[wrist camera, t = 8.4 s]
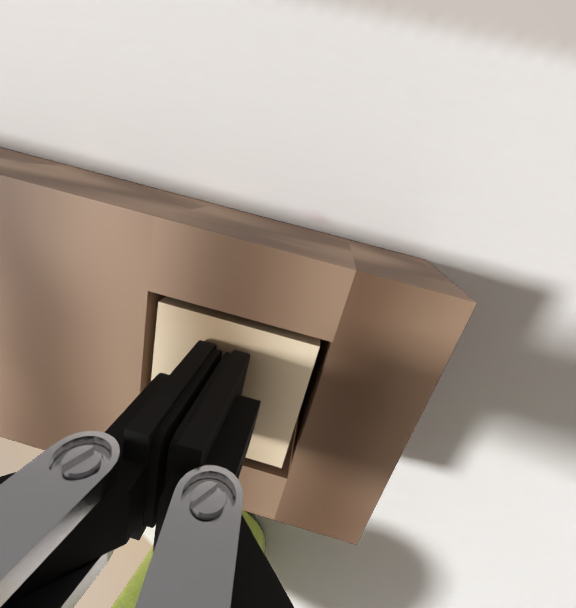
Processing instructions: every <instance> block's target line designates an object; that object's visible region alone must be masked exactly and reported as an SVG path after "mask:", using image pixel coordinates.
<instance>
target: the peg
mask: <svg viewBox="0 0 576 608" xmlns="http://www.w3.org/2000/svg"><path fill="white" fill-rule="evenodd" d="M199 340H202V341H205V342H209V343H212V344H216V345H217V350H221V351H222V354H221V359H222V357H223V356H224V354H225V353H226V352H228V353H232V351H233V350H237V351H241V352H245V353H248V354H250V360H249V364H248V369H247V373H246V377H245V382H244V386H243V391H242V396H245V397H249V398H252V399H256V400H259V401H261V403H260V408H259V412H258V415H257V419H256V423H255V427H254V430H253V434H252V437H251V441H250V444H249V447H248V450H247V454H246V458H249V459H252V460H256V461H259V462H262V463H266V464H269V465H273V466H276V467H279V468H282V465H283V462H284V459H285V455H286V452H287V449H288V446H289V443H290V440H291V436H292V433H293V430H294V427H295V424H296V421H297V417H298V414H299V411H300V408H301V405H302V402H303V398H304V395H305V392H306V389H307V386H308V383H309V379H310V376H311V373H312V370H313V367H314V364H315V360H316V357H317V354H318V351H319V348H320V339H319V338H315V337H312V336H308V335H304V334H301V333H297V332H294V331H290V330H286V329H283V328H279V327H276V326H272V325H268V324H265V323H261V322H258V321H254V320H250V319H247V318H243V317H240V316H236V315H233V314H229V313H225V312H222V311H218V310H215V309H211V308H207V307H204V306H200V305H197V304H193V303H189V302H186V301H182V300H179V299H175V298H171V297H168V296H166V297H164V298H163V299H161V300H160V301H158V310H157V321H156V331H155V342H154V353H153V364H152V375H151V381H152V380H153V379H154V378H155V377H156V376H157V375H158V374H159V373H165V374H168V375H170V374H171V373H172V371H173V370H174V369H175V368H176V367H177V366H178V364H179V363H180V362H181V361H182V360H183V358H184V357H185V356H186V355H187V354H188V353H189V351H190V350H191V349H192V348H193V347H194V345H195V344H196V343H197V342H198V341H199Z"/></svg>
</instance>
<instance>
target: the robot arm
mask: <svg viewBox="0 0 576 608" xmlns="http://www.w3.org/2000/svg"><path fill="white" fill-rule="evenodd" d="M221 354H222V351H221V350H217V345H216V344H212V343H209V342H205V341H202V340H199V341H198V342H197V343H196V344H195V345H194V347H193V348H192V349H191V350H190V351H189V353H188V354H187V355H186V356H185V357H184V358H183V360H182V361H181V362H180V363H179V364H178V366H177V367H176V368H175V369H174V370H173V371H172V373H171V374H170V375H168V374H165V373H159V374H158V375H157V376H156V377H155V378H154V379H153V380H152V381H151V382H150V383H149V384H148V385H147V386H146V388H145V389H144V390H143V391H142V392H141V393H140V394H139V395H138V396H137V397H136V398H135V400H134V401H133V402H132V403H131V404H130V405H129V406H128V407H127V408H126V409H125V411H124V412H123V413H122V414H121V415H120V416H119V417H118V418H117V419H116V420H115V421H114V423H113V424H112V425H111V426H110V427H109V428H108V429H107V430H106V431H105V432H100V431H84V432H79V433H75V434H72V435H70V436H67V437H65V438H63V439H61V440H60V441H58V442H56V443H55V444H53V445H52V446H51V447H49V448H48V449H47V450H45V451H44V452H43V453H42V454H40V455H39V456H37V457H36V458H35V459H33V460H32V461H31V462H29V463H28V464H27V465H25V466H24V467H23V468H22V469H20V470H19V471H18V472H15V473H12V474H8V475H5V476H1V477H0V608H73V607H74V606H75V605H76V603H77V602H78V601H79V600H80V598H81V597H82V596H83V594H84V593H85V592H86V590H87V589H88V588H89V586H90V585H91V584H92V582H93V581H94V579H95V578H96V577H97V576H98V574H99V573H100V571H101V570H102V569H103V568H104V566H105V565H106V564H107V562H108V560H109V559H110V557H111V555H112V554H113V550H114V549H116V548H118V547H120V546H122V545H125V544H126V543H127V542H128V540H129V538H133V539H136V540H140V538H141V536H142V534H143V532H144V531H145V529H146V527H147V526H148V527H151V528H153V527H154V526H155V525H156V529H155V538H154V546H153V555H152V558H151V561H150V564H149V567H148V570H147V573H146V576H145V579H144V582H143V585H142V588H141V591H140V594H139V597H138V600H137V603H136V606H135V608H294V606H293V605H292V603H291V601H290V599H289V597H288V596H287V594H286V592H285V590H284V589H283V587H282V585H281V583H280V581H279V580H278V578H277V576H276V574H275V572H274V571H273V569H272V567H271V565H270V564H269V562H268V560H267V558H266V556H265V555H264V553H263V551H262V549H261V547H260V546H259V544H258V542H257V540H256V538H255V537H254V535H253V533H252V531H251V530H250V528H249V526H248V524H247V522H246V521H245V519H244V517H243V515H242V506H243V489H242V486H241V484H240V481H239V480H238V479H239V475H240V472H241V469H242V466H243V463H244V460H245V457H246V454H247V450H248V447H249V444H250V441H251V437H252V434H253V430H254V427H255V423H256V419H257V415H258V412H259V408H260V403H261V401H259V400H256V399H252V398H249V397H245V396H242V391H243V386H244V382H245V377H246V373H247V369H248V364H249V360H250V354H248V353H245V352H241V351H237V350H233V351H232V353H228V352H226V353H225V354H224V356H223V357H222V359H221Z"/></svg>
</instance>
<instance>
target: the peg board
mask: <svg viewBox="0 0 576 608" xmlns="http://www.w3.org/2000/svg"><path fill="white" fill-rule="evenodd" d="M166 296H168V297H171V298H175V299H179V300H182V301H186V302H189V303H193V304H197V305H200V306H204V307H207V308H211V309H215V310H218V311H222V312H225V313H229V314H233V315H236V316H240V317H243V318H247V319H250V320H254V321H258V322H261V323H265V324H268V325H272V326H276V327H279V328H283V329H286V330H290V331H294V332H297V333H301V334H304V335H308V336H312V337H315V338H319V339H320V348H319V351H318V354H317V357H316V360H315V364H314V367H313V370H312V373H311V376H310V379H309V383H308V386H307V389H306V392H305V395H304V398H303V402H302V405H301V408H300V411H299V414H298V417H297V421H296V424H295V427H294V430H293V433H292V436H291V440H290V443H289V446H288V449H287V452H286V455H285V459H284V462H283V465H282V468H279V467H276V466H273V465H269V464H266V463H262V462H259V461H256V460H252V459H249V458H246V457H245V460H244V463H243V466H242V469H241V472H240V475H239V479H238V480H239V481H240V484H241V486H242V489H243V506H242V510H243V511H247V512H250V513H253V514H257V515H260V516H263V517H266V518H270V519H273V520H276V521H280V522H283V523H286V524H290V525H293V526H296V527H299V528H303V529H306V530H309V531H313V532H316V533H319V534H322V535H326V536H329V537H332V538H336V539H339V540H342V541H346V542H349V543H352V544H355V545H357V543H358V541H359V539H360V537H361V535H362V533H363V531H364V529H365V527H366V525H367V523H368V521H369V519H370V517H371V515H372V513H373V511H374V509H375V507H376V505H377V503H378V501H379V499H380V497H381V495H382V493H383V491H384V488H385V486H386V484H387V482H388V480H389V478H390V476H391V474H392V472H393V470H394V468H395V466H396V464H397V462H398V460H399V458H400V456H401V454H402V452H403V450H404V448H405V446H406V444H407V442H408V440H409V438H410V436H411V434H412V432H413V430H414V428H415V426H416V424H417V422H418V420H419V418H420V416H421V414H422V412H423V410H424V408H425V406H426V404H427V402H428V400H429V398H430V396H431V394H432V392H433V390H434V388H435V386H436V384H437V382H438V380H439V378H440V376H441V374H442V372H443V370H444V368H445V366H446V364H447V362H448V360H449V358H450V356H451V354H452V352H453V350H454V348H455V346H456V344H457V342H458V340H459V338H460V336H461V334H462V332H463V330H464V328H465V326H466V324H467V322H468V320H469V318H470V316H471V314H472V312H473V310H474V308H475V306H476V304H477V302H476V301H474V300H473V299H472V298H471V297H470V296H468V295H467V294H466V293H465V292H464V291H462V290H461V289H460V288H459V287H458V286H456V285H455V284H454V283H453V282H452V281H450V280H449V279H448V278H447V277H446V276H444V275H443V274H442V273H441V272H440V271H438V270H437V269H436V268H435V267H434V266H432V265H431V264H430V263H429V262H428V261H426V260H424V259H420V258H416V257H412V256H409V255H405V254H401V253H397V252H394V251H390V250H386V249H382V248H378V247H375V246H371V245H367V244H363V243H360V242H356V241H352V240H348V239H344V238H341V237H337V236H333V235H329V234H326V233H322V232H318V231H314V230H310V229H307V228H303V227H299V226H295V225H292V224H288V223H284V222H280V221H276V220H273V219H269V218H265V217H261V216H258V215H254V214H250V213H246V212H242V211H239V210H235V209H231V208H227V207H224V206H220V205H216V204H212V203H208V202H205V201H201V200H197V199H193V198H190V197H186V196H182V195H178V194H174V193H171V192H167V191H163V190H159V189H156V188H152V187H148V186H144V185H140V184H137V183H133V182H129V181H125V180H122V179H118V178H114V177H110V176H106V175H103V174H99V173H95V172H91V171H88V170H84V169H80V168H76V167H73V166H69V165H65V164H61V163H57V162H54V161H50V160H46V159H42V158H39V157H35V156H31V155H27V154H23V153H20V152H16V151H12V150H8V149H5V148H1V147H0V437H3V438H6V439H9V440H13V441H17V442H19V443H23V444H26V445H29V446H32V447H36V448H39V449H43V450H47V449H48V448H49V447H51V446H52V445H53V444H55V443H56V442H58V441H60V440H61V439H63V438H65V437H67V436H70V435H72V434H75V433H79V432H84V431H100V432H105V431H106V430H107V429H108V428H109V427H110V426H111V425H112V424H113V423H114V421H115V420H116V419H117V418H118V417H119V416H120V415H121V414H122V413H123V412H124V411H125V409H126V408H127V407H128V406H129V405H130V404H131V403H132V402H133V401H134V400H135V398H136V397H137V396H138V395H139V394H140V393H141V392H142V391H143V390H144V389H145V388H146V386H147V385H148V384H149V383H150V382H151V375H152V364H153V353H154V342H155V331H156V321H157V310H158V301H160V300H161V299H163V298H164V297H166Z"/></svg>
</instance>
